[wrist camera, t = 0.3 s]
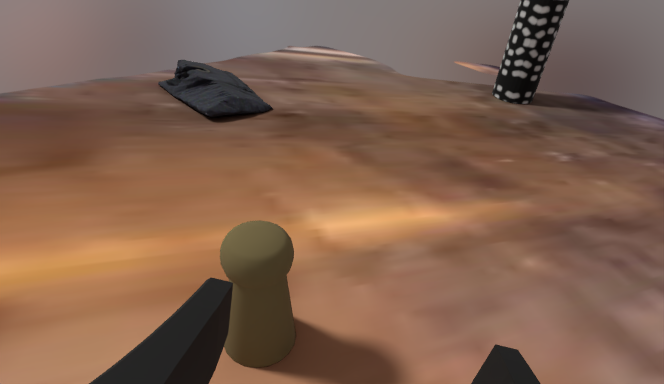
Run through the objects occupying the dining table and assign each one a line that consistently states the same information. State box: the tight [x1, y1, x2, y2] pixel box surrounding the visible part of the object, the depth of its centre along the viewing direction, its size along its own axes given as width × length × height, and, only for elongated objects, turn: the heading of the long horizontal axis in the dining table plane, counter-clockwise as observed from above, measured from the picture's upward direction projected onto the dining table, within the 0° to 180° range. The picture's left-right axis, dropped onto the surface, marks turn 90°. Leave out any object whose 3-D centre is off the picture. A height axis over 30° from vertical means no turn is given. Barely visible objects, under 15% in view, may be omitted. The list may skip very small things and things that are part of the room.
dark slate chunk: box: [158, 60, 273, 117], centre depth 76 cm, size 15×22×5 cm
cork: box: [220, 221, 296, 368], centre depth 32 cm, size 6×6×11 cm
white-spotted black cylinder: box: [492, 0, 569, 104], centre depth 84 cm, size 8×8×20 cm
